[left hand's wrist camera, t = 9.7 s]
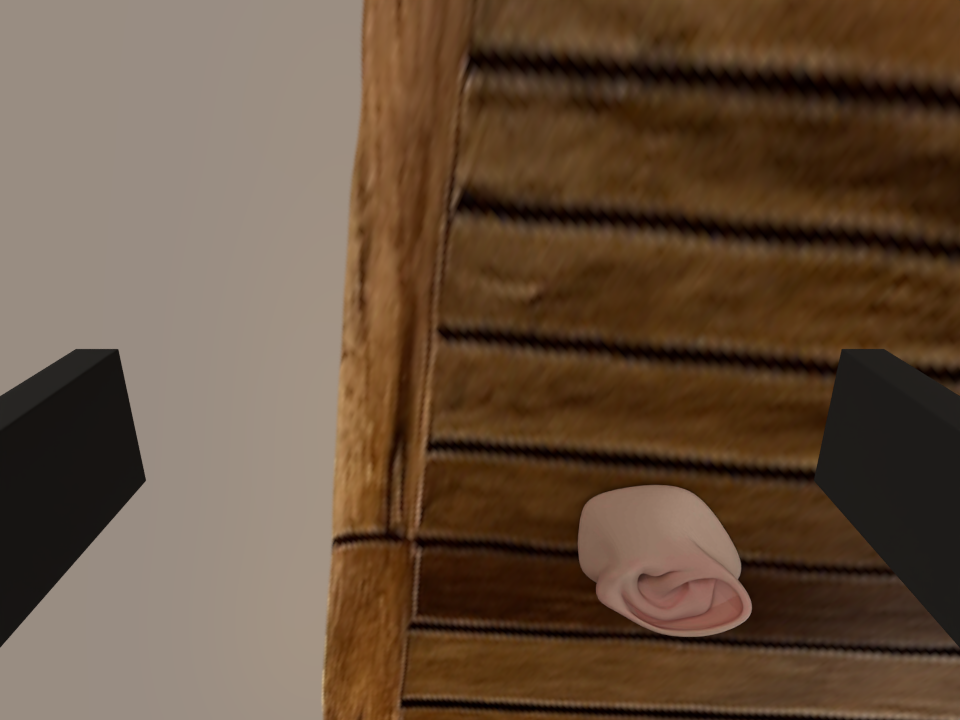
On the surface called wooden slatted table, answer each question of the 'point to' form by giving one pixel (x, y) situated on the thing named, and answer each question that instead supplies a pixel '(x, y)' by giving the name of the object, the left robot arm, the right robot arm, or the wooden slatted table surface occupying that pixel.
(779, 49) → the wooden slatted table surface
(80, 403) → the left robot arm
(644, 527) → the anatomical model
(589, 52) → the wooden slatted table surface
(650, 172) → the wooden slatted table surface
